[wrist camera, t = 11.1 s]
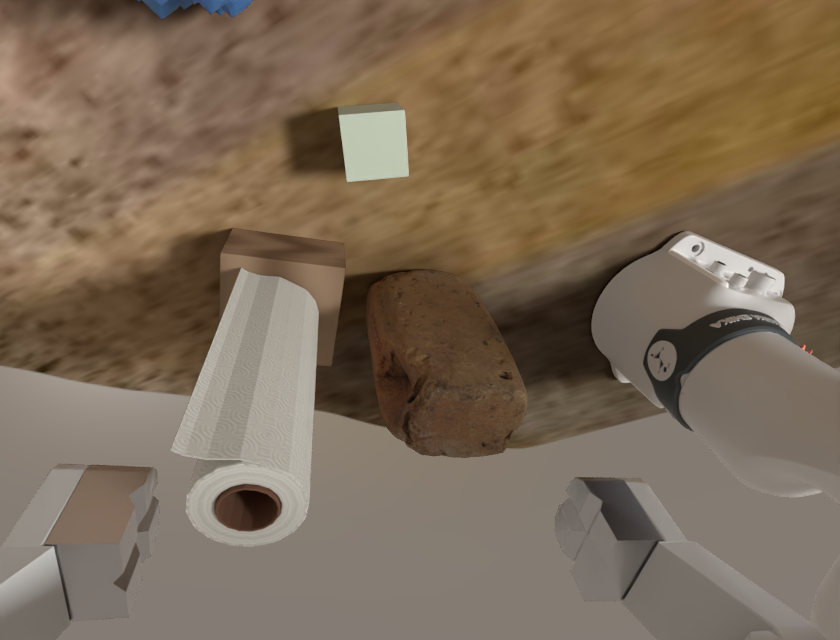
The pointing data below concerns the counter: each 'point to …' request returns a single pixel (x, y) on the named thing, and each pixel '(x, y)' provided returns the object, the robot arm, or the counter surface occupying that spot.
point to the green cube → (374, 141)
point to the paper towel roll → (254, 415)
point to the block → (442, 366)
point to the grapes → (165, 3)
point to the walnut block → (290, 274)
